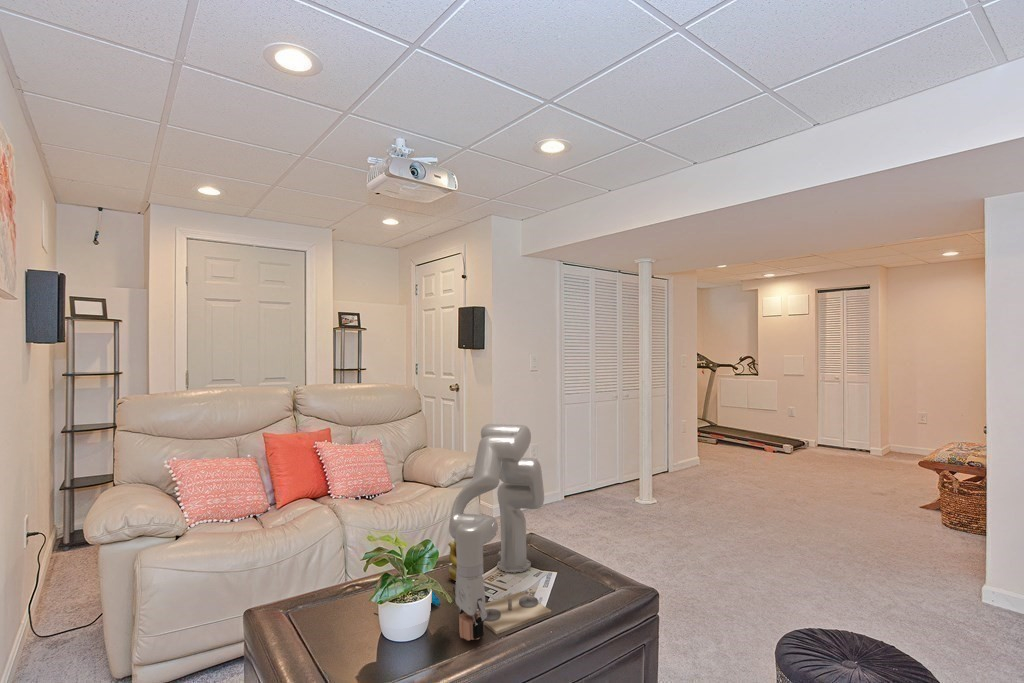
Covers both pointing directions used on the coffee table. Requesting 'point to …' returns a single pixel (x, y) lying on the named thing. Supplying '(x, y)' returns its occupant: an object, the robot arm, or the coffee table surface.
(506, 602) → the board
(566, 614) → the coffee table surface
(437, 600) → the gear
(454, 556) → the decorative figurine
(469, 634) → the gear wheel
